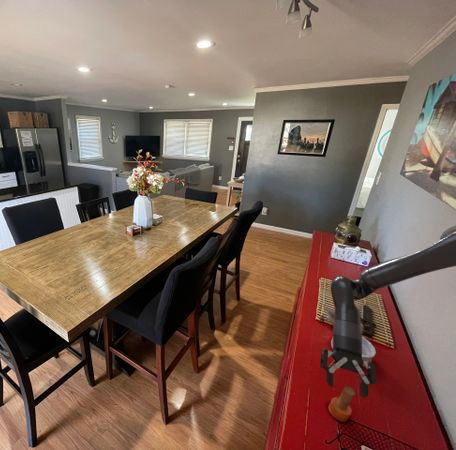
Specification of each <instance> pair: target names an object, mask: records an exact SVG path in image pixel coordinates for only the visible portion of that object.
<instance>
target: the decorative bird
mask: <svg viewBox="0 0 456 450" xmlns="http://www.w3.org/2000/svg"><path fill="white" fill-rule="evenodd" d="M323 308H324V311H325V312H326V315H323V313H321V321H322V323H323V324H324V321H330V323H332V324H334V317H335V310H334V309H333V310H332V309H330V308H329V307H325V306H324V307H323ZM324 317H325V318H326V317H327V318H326V319H324ZM363 324H364V323H363ZM363 324H362V323H361V331H362V335H364V334H363V332H364V331H365V330H364V329H365V328H364V326H365V325H364V326H363Z"/></svg>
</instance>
